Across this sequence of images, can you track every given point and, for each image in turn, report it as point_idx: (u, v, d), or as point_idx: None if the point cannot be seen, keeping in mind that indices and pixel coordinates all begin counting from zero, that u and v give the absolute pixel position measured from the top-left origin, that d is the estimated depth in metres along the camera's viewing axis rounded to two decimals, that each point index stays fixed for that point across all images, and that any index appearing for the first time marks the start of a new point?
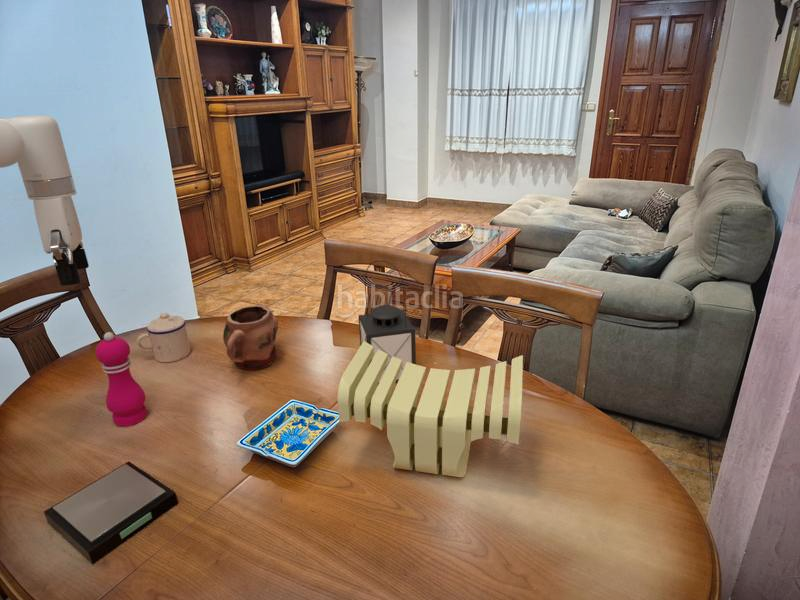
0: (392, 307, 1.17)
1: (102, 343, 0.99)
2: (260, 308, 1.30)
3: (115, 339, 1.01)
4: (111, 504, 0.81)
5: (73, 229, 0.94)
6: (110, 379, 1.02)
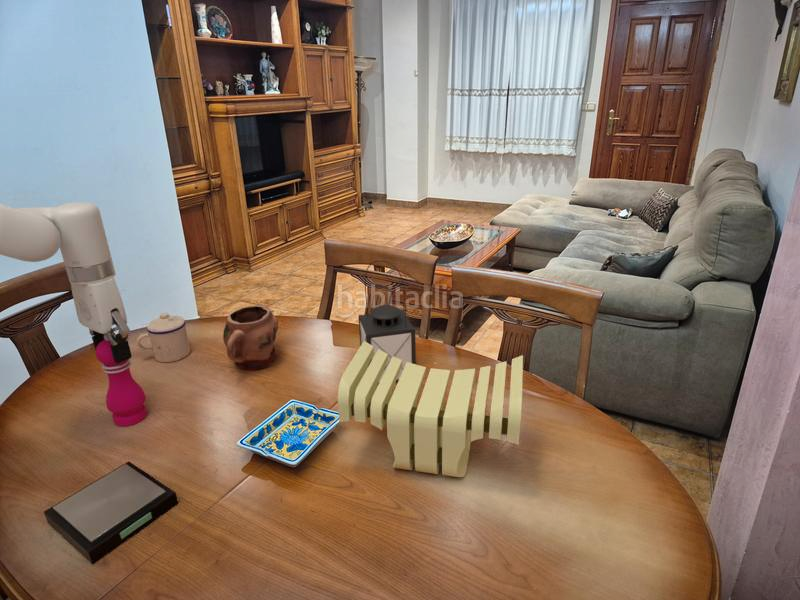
0: (392, 307, 1.17)
1: (102, 343, 0.99)
2: (260, 308, 1.30)
3: None
4: (111, 504, 0.81)
5: None
6: (110, 379, 1.02)
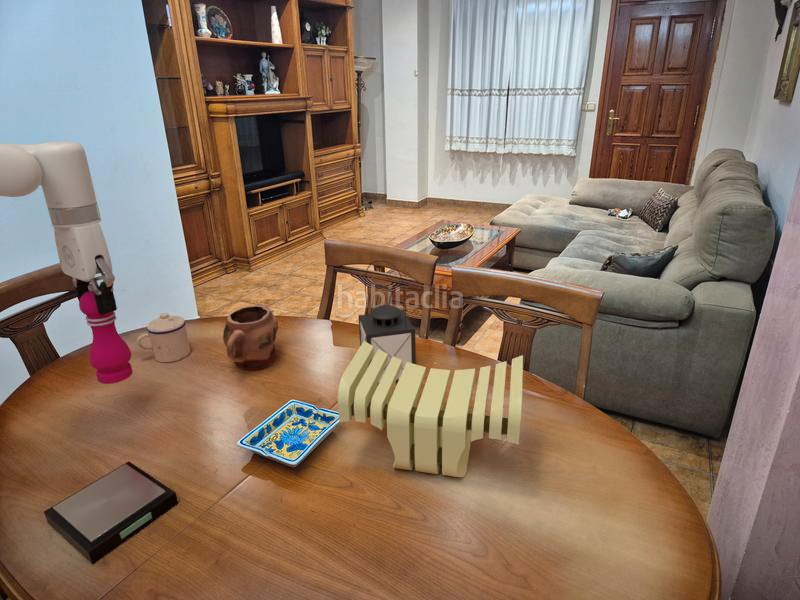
0: (392, 307, 1.17)
1: (86, 294, 0.95)
2: (260, 308, 1.30)
3: None
4: (111, 504, 0.81)
5: None
6: (94, 333, 0.97)
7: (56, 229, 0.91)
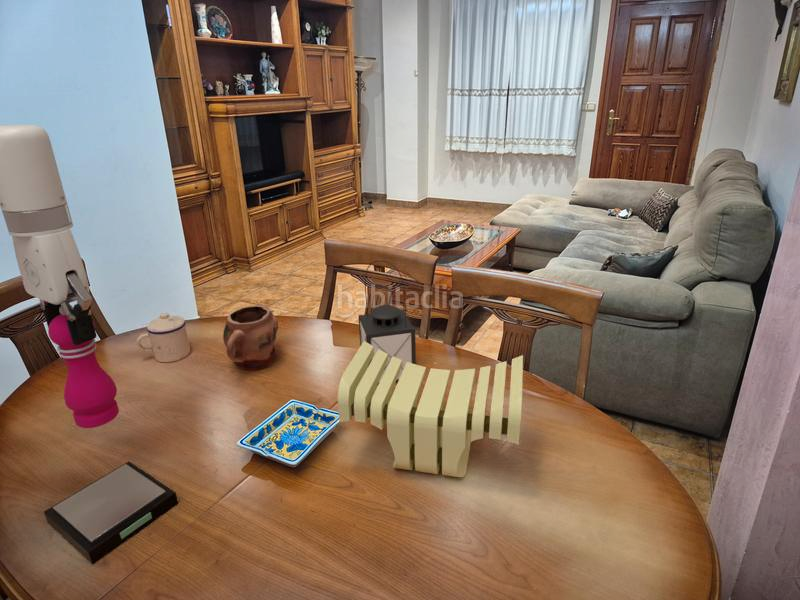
0: (392, 307, 1.17)
1: (57, 318, 0.75)
2: (260, 308, 1.30)
3: None
4: (111, 504, 0.81)
5: None
6: (69, 366, 0.78)
7: (15, 238, 0.71)
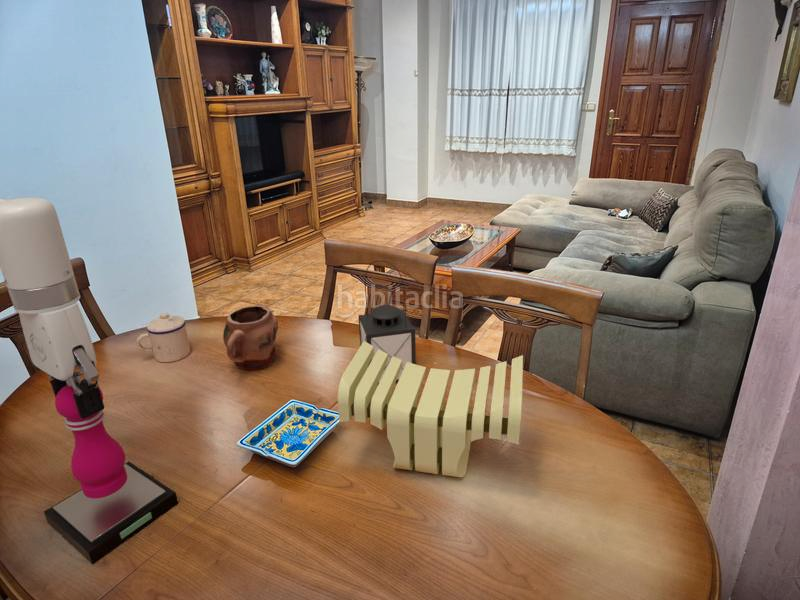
0: (392, 307, 1.17)
1: (64, 390, 0.73)
2: (260, 308, 1.30)
3: None
4: (111, 504, 0.81)
5: None
6: (76, 437, 0.75)
7: None
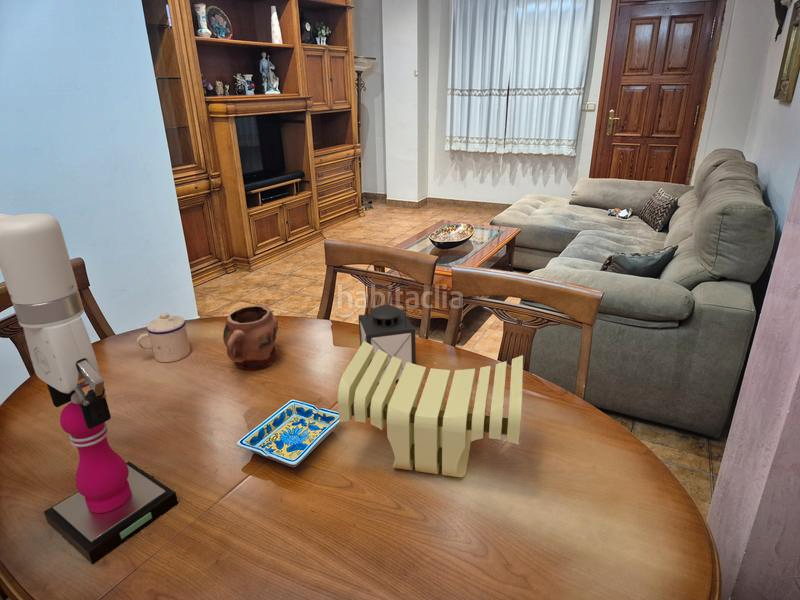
0: (392, 307, 1.17)
1: (69, 407, 0.74)
2: (260, 308, 1.30)
3: None
4: None
5: None
6: (80, 453, 0.76)
7: None
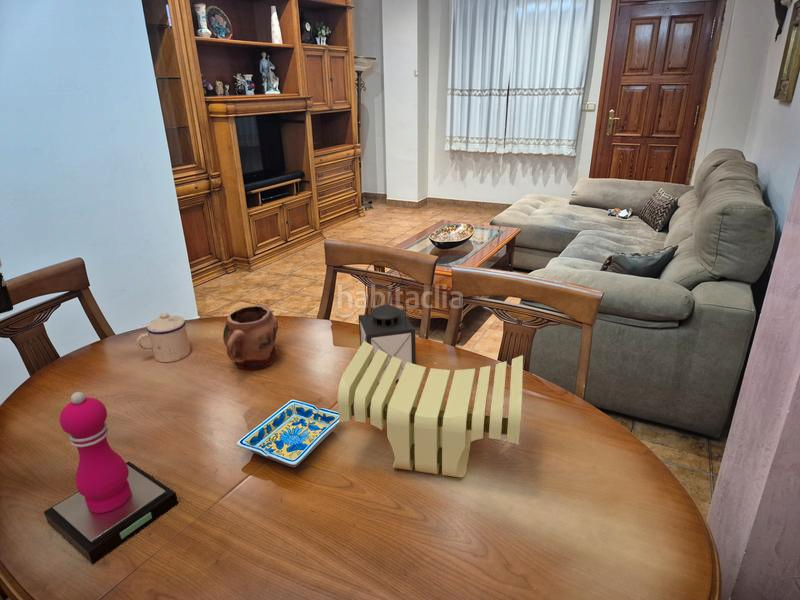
0: (392, 307, 1.17)
1: (68, 407, 0.74)
2: (260, 308, 1.30)
3: (86, 401, 0.75)
4: None
5: None
6: (80, 453, 0.76)
7: None
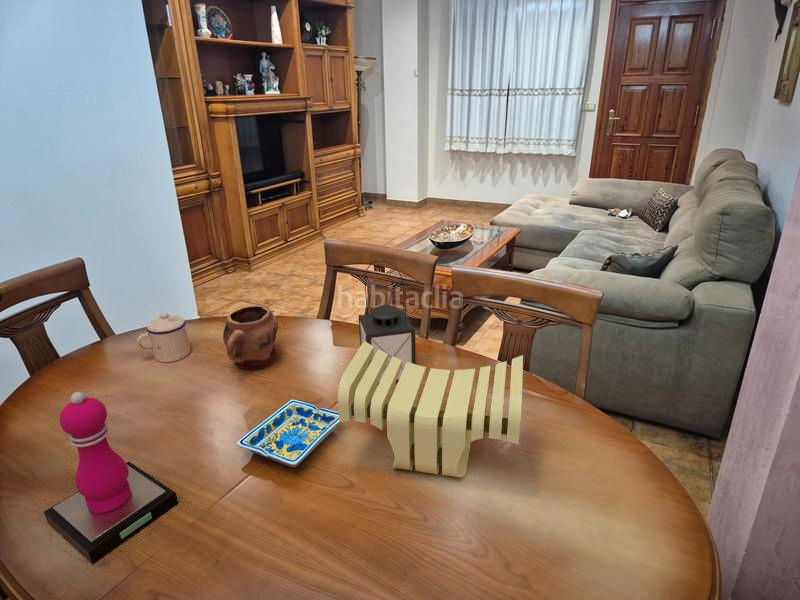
0: (392, 307, 1.17)
1: (68, 407, 0.74)
2: (260, 308, 1.30)
3: (86, 401, 0.75)
4: None
5: None
6: (80, 453, 0.76)
7: None
